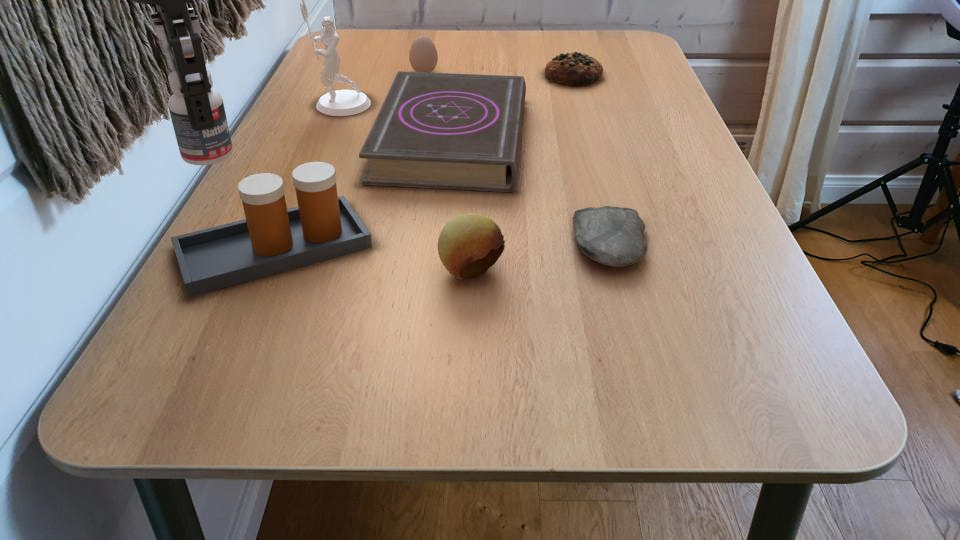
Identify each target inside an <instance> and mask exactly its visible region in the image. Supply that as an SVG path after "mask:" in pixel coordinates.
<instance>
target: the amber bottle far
mask: <svg viewBox="0 0 960 540" xmlns="http://www.w3.org/2000/svg"><path fill="white" fill-rule="evenodd" d="M291 178H292V184H293V186H294V191H295V195H296V201H297V207H298V208H299V214H300V220H301V225H302V231H303V236H304V238H305V239H306V240H307V241H309V242H312V243H326V242H330V241H333V240H335V239H337V238H338V237H339V236H340V235H341V233H342V225H341V218H340V210H339V203H338V197H339V195H338V189H337V188H338V187H337V175H336V169H335V167H334V165H332V164H330V163H328V162H325V161H308V162H305V163H302V164H299V165H298V166H296V167H295V168H294V169H293V170H292V172H291Z"/></svg>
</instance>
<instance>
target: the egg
mask: <svg viewBox="0 0 960 540" xmlns="http://www.w3.org/2000/svg"><path fill="white" fill-rule="evenodd" d="M437 49H438V48H437V46H436V44H435V43H434V42H433V40H432V39H431V38H430V37H429V36H427V35H424V34H423V35H419V36H417V37H415V39H414V40H413V41H412V43H411V45H410V48H409V54H408V55H409V56H408V59H409V64H410V66H411V68H412V69H413V71H414V72H428V73H433V71H434V70H435V69H436V67H437V64H438V62H439V61H438V59H439V56H438V50H437Z"/></svg>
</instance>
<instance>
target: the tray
mask: <svg viewBox="0 0 960 540" xmlns="http://www.w3.org/2000/svg"><path fill="white" fill-rule="evenodd" d="M338 203H339V210H340V218H341V225H342V233H341V235H340V236H339V237H338V238H337V239H335V240H333V241H330V242H326V243H312V242H309V241H307V240H306V239H305V238H304V236H303V231H302V225H301V220H300V214H299V208H298V206H295V207H290V208H287V212H288V217H289V223H290V228H291V234H292V239H293V245H292V247H291V249H290V250H289V251H287V252H286V253H284V254H281V255H277V256H273V257H264V256H260V255H257V254H256V253H255V252H254V251H253V248H252V244H251V239H250V235H249V230H248V226H247V221H246V218H245V219H241V220H237V221H233V222H229V223H225V224H220V225H217V226H212V227H207V228H204V229H201V230H195V231H193V232H192V231H191V232H188V233H184V234H179V235H175V236H171V237H170V241H171V244H172V247H173V250H174V251H173V252H174V254H175V258H176V261H177V264H178V267H179V271H180V273H181V277H182V280H183V284H184V287H185V290H186V293H187V294H186V295H187V297H188V298H191V297H195V296H199V295H203V294H206V293H209V292H213V291H216V290H217V291H218V290H220V289H224V288H227V287H228V288H229V287H232V286H235V285H240V284H242V283H246V282H249V281H253V280H257V279H261V278H264V277H267V276H271V275H272V276H273V275H275V274H279V273H282V272H286V271H290V270H293V269H298V268H301V267H305V266H308V265H313V264H315V263H318V262H323V261H326V260H330V259H334V258H337V257H341V256H344V255H348V254H351V253H356V252H359V251H362V250H366V249H370V248H373V243H372V234H371V233H370V231H369V229H368V228H367V227H366V225H365V224H364V223H363V221H362V220H361V218H360V216H359V215H358V214H357V213H356V211H355V209H354V208H353V207H352V206H351V203H350V202H349V200H348V199H347V198H346V196H345V195H340V196H339V195H338Z"/></svg>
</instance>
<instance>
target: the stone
mask: <svg viewBox="0 0 960 540" xmlns="http://www.w3.org/2000/svg"><path fill="white" fill-rule="evenodd" d="M572 225H573V226H572V228H573V236H574V241H575V243H576V245H577V247H578V249H579V250H580V251H581V252H582V254H584V255H585V256H586V257H587V258H589V259H591V260H592V261H594V262H596V263H598V264H601V265H603V266H608V267H615V268H623V267H630V266H632V265H635V264H636V263H638V262H640V261H642V260H643V259H644V257H645V256H646V252H647V250H648V245H647V243H646V242H645V240H644V239H645V230H646V224H645V222H644V221H643V219H642V218H641V217H640V216H639V213H638V211H637V210H636V209H634V208H629V207H620V206H611V205H605V206H600V207H594V206H593V207H584V208H580V209H577V210H575V211H574V213H573V217H572Z"/></svg>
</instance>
